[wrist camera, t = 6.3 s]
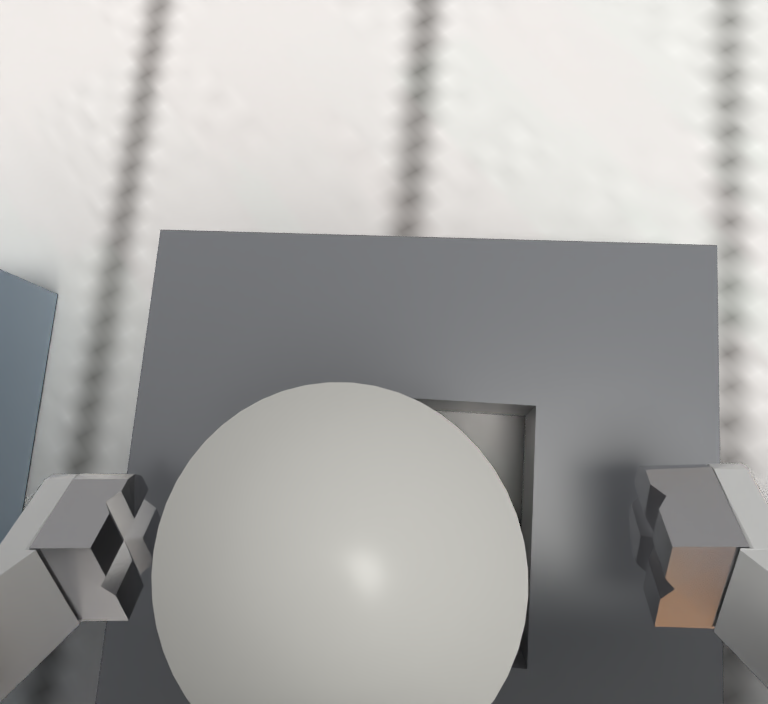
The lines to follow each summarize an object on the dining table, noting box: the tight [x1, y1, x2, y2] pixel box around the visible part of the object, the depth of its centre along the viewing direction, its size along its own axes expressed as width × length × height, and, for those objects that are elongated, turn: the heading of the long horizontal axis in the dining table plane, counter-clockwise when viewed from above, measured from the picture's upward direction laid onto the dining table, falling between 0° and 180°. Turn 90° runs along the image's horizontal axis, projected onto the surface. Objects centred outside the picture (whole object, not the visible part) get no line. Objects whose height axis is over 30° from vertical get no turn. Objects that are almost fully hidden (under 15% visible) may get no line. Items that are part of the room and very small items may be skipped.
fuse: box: [151, 382, 528, 704], centre depth 11 cm, size 4×4×9 cm
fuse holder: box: [95, 230, 723, 704], centre depth 14 cm, size 12×12×2 cm
